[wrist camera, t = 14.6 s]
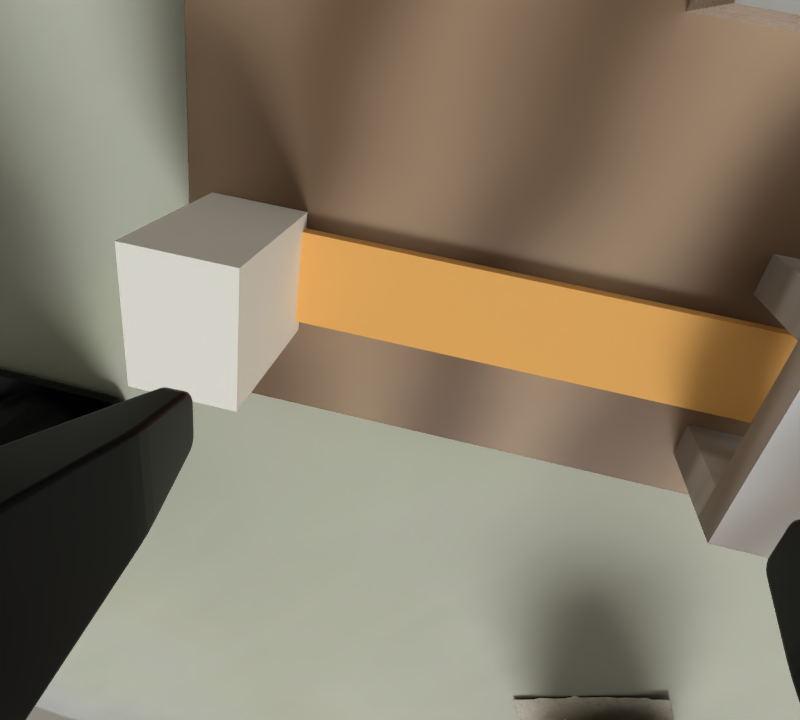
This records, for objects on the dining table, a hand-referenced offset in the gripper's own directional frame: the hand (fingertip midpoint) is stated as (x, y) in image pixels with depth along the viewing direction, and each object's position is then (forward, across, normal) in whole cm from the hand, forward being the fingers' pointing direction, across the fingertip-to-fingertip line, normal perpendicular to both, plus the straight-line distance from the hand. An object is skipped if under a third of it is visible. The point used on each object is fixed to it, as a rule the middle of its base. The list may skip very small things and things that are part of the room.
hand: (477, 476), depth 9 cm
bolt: (+10, +1, +2) cm, 10 cm away
